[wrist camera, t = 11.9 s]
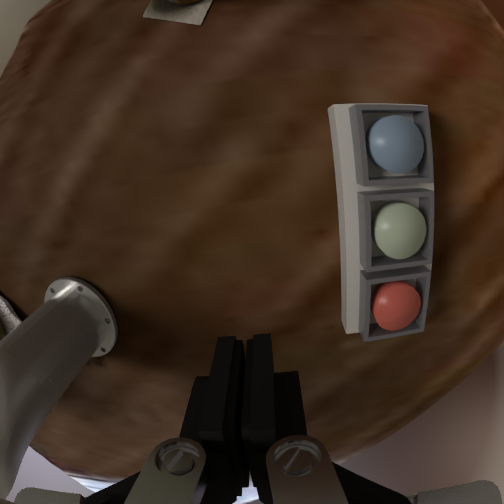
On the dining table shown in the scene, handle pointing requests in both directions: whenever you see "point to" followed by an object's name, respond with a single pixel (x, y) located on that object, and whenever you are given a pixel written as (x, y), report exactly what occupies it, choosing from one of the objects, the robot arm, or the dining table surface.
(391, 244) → the sage button
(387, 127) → the blue button
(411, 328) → the button housing
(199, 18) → the condiment
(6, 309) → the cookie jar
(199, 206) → the dining table surface
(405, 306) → the red button
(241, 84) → the dining table surface
